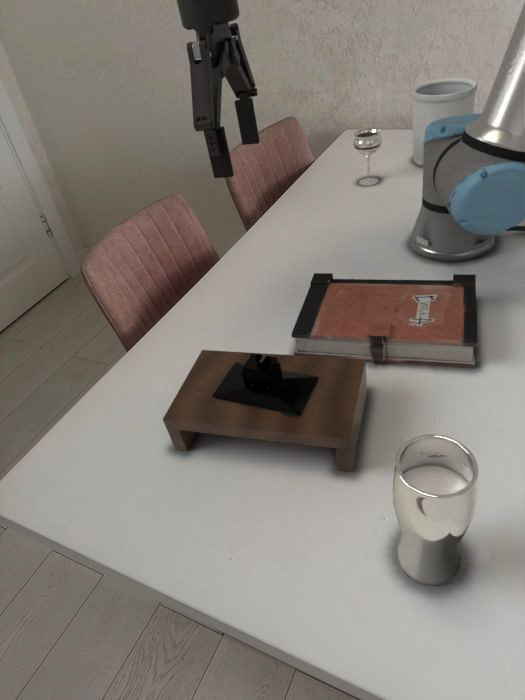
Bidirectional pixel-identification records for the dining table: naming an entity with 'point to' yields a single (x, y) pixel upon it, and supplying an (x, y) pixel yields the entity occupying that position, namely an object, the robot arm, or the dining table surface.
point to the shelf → (250, 422)
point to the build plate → (266, 386)
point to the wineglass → (367, 148)
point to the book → (390, 320)
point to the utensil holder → (439, 106)
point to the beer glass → (433, 505)
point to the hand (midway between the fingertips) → (238, 159)
